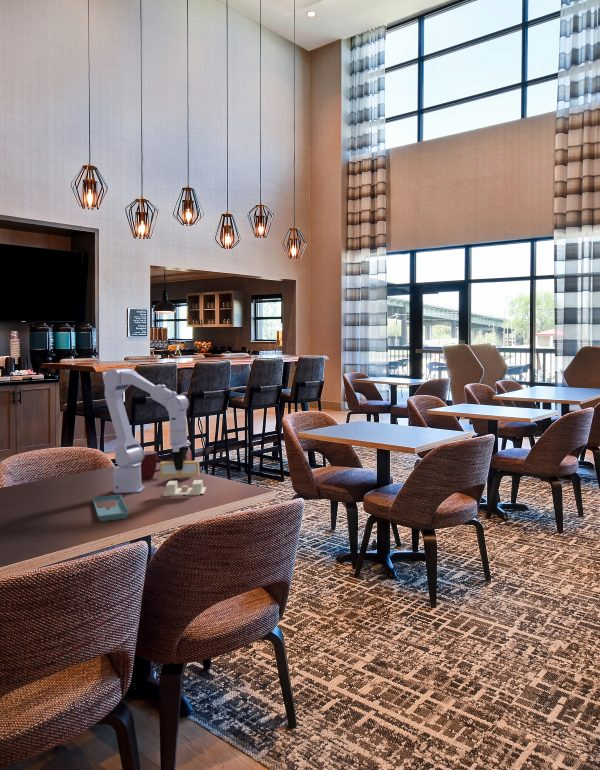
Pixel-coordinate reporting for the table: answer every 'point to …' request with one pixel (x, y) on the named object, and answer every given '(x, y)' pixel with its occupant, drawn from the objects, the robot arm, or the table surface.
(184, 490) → the display stand
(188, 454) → the soda can
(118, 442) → the robot arm
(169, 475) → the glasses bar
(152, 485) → the table surface
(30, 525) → the table surface
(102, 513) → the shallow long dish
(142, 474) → the mug
